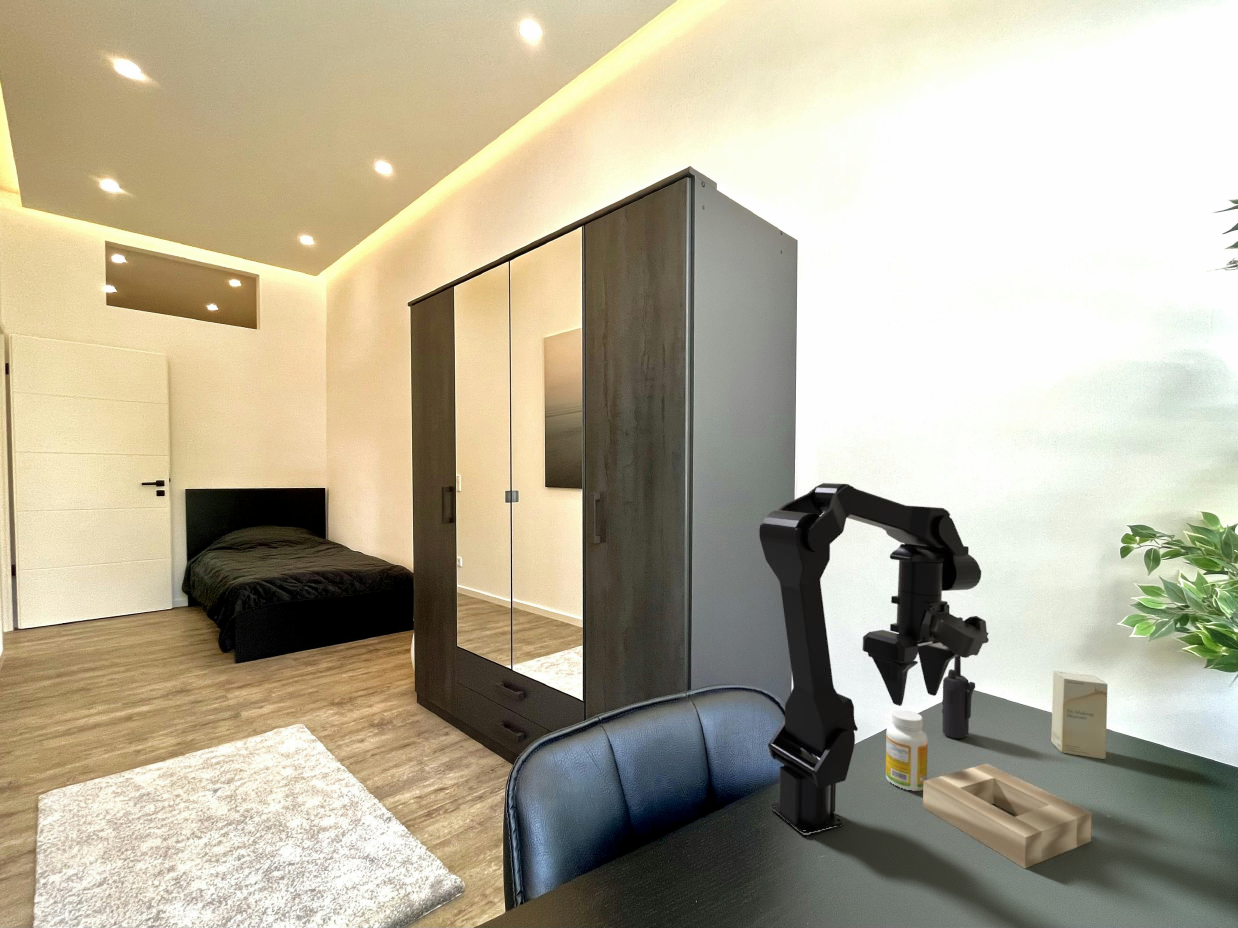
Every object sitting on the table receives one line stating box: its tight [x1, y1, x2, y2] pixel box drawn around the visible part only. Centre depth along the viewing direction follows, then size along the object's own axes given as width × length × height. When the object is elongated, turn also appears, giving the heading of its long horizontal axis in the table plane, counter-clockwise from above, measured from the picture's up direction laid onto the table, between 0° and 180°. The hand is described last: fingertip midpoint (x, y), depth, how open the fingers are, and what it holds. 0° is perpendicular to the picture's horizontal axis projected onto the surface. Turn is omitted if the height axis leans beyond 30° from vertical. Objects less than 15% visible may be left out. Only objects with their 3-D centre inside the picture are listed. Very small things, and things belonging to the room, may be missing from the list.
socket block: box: [922, 763, 1092, 869], centre depth 74 cm, size 13×13×4 cm
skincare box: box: [1050, 670, 1108, 760], centre depth 96 cm, size 6×4×12 cm
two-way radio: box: [941, 656, 976, 740], centre depth 100 cm, size 6×4×15 cm
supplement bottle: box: [885, 709, 929, 792], centre depth 84 cm, size 5×5×10 cm
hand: (915, 699), depth 84 cm, fingers open, 9 cm apart
